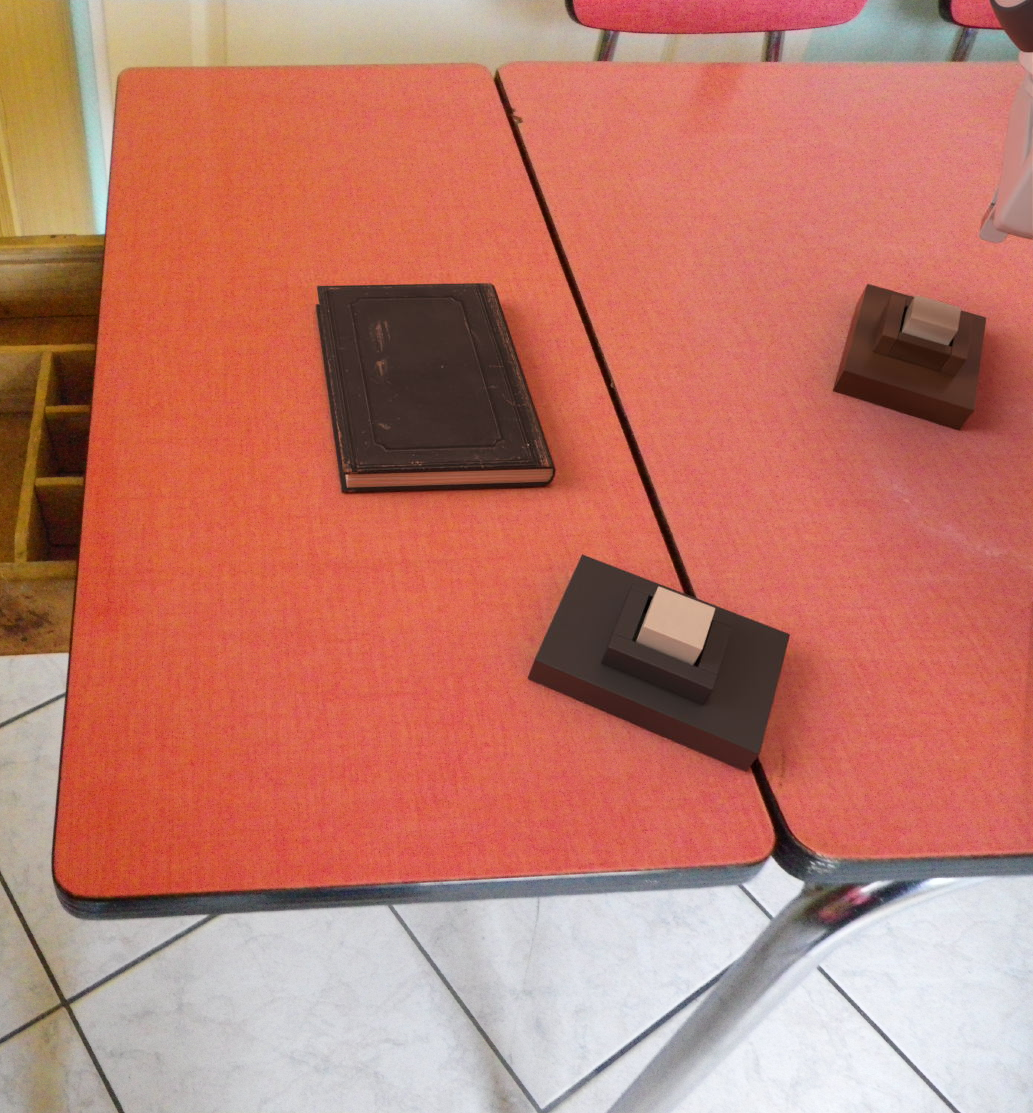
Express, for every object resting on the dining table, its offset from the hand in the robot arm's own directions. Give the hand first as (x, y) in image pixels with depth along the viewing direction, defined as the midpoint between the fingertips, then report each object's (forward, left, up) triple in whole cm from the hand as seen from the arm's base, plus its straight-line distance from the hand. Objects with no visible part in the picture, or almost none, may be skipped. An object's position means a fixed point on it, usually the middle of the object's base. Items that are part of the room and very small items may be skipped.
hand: (990, 232), depth 78 cm
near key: (+11, +42, -9) cm, 44 cm away
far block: (0, 0, -13) cm, 13 cm away
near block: (+11, +42, -13) cm, 45 cm away
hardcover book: (+35, +24, -13) cm, 45 cm away
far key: (0, 0, -9) cm, 9 cm away
